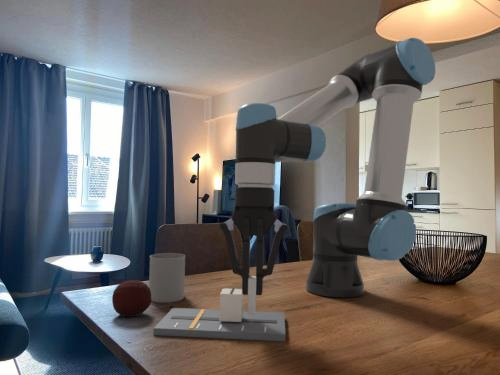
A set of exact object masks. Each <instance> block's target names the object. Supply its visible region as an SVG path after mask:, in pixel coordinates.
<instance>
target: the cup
mask: <svg viewBox="0 0 500 375" xmlns="http://www.w3.org/2000/svg"><path fill="white" fill-rule="evenodd" d="M185 267H186V255H185V254H182V253H175V252H173V253H171V252H166V253H165V252H164V253H154V254H151V255H149V273H148V274H149V278H148V287H149V288H150V291H151V302H155V303H174V302H175V303H176V302H178V301H181V300H183V299H184V298H185V280H186V279H185V277H186V276H185V273H186V272H185V271H186V268H185Z"/></svg>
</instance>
